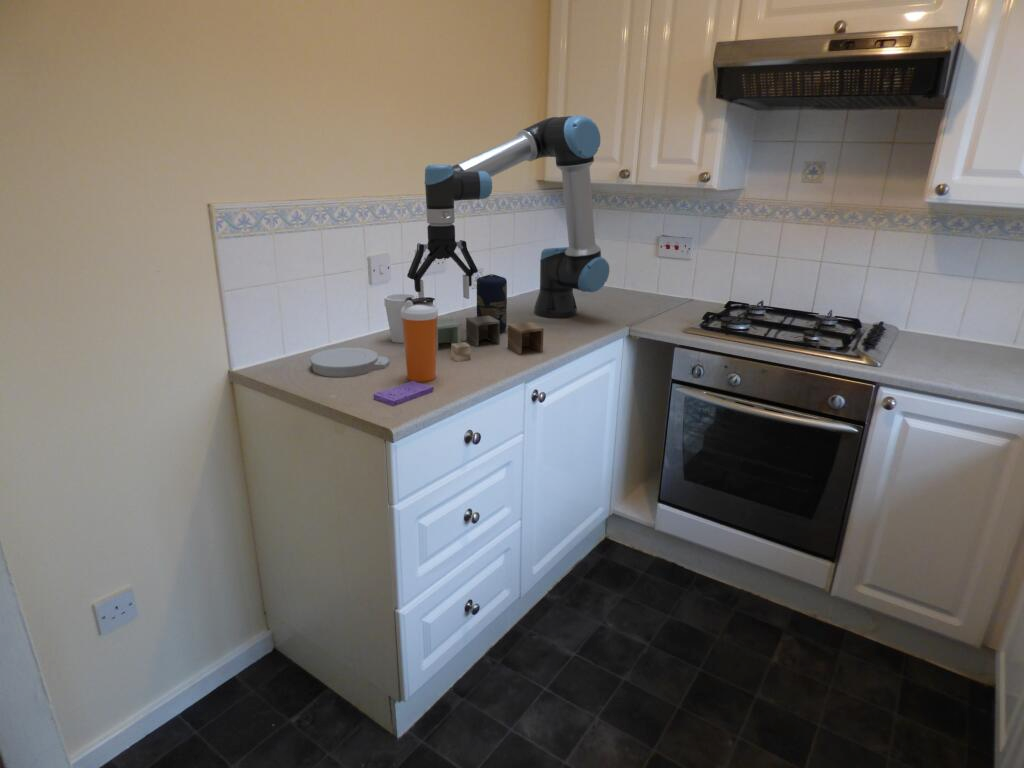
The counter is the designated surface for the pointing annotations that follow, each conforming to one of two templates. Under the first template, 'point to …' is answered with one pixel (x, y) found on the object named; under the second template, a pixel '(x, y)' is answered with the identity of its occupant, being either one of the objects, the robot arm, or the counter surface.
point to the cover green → (447, 331)
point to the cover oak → (482, 329)
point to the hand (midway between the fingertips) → (444, 300)
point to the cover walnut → (525, 336)
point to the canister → (492, 298)
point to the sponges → (403, 393)
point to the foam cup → (396, 315)
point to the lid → (347, 362)
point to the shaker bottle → (420, 338)
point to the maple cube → (460, 351)
